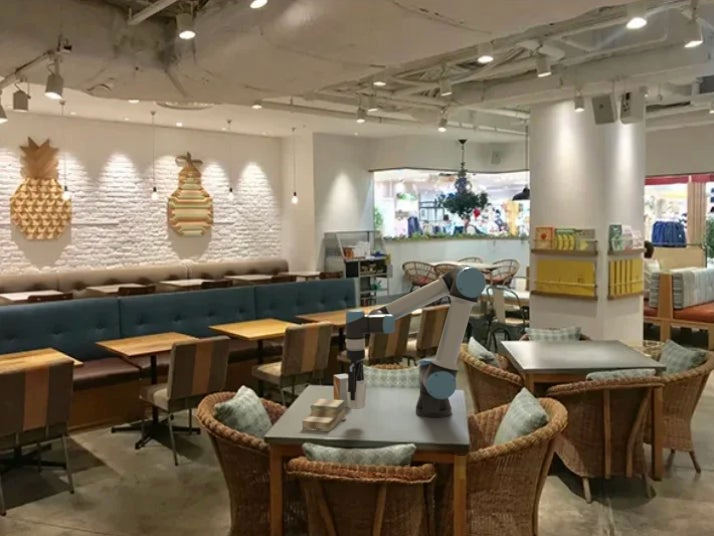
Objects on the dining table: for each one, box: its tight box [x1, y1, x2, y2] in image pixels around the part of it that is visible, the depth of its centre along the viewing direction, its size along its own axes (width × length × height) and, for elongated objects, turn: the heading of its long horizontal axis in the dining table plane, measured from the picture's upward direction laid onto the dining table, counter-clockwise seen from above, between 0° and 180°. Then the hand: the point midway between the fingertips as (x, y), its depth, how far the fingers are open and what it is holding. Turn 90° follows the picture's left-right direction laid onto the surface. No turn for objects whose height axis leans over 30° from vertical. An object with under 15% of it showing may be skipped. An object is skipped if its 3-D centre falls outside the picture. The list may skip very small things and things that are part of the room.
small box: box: [332, 373, 349, 408], centre depth 290 cm, size 8×6×13 cm
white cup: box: [346, 380, 367, 410], centre depth 260 cm, size 8×8×10 cm
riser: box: [301, 398, 347, 432], centre depth 264 cm, size 13×20×7 cm, turn 163°
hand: (356, 405), depth 261 cm, fingers closed on white cup, 7 cm apart
